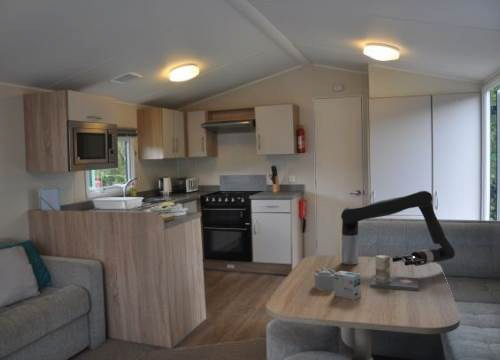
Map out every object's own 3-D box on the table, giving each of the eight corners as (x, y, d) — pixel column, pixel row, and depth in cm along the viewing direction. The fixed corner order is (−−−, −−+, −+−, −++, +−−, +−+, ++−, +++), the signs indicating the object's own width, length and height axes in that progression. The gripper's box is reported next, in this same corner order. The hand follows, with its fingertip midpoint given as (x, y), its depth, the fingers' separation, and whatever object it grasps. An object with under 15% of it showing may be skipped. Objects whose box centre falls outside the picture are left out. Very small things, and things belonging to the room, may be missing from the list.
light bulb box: (361, 296, 197) (361, 273, 197) (354, 300, 192) (353, 277, 192) (341, 292, 205) (340, 269, 204) (333, 295, 200) (333, 273, 199)
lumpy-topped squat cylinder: (313, 289, 209) (313, 272, 209) (317, 281, 222) (317, 265, 221) (335, 291, 206) (334, 273, 206) (337, 283, 219) (337, 266, 218)
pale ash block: (382, 281, 213) (382, 258, 212) (375, 279, 217) (375, 255, 216) (390, 280, 215) (390, 256, 214) (383, 277, 219) (383, 254, 218)
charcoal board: (370, 287, 210) (370, 283, 210) (372, 277, 225) (372, 274, 225) (418, 290, 203) (418, 286, 203) (417, 280, 218) (417, 277, 218)
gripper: (411, 248, 233) (388, 251, 226) (433, 253, 220) (409, 257, 213) (412, 261, 233) (389, 265, 227) (433, 267, 220) (409, 272, 214)
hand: (398, 261), depth 220 cm, fingers open, 8 cm apart
